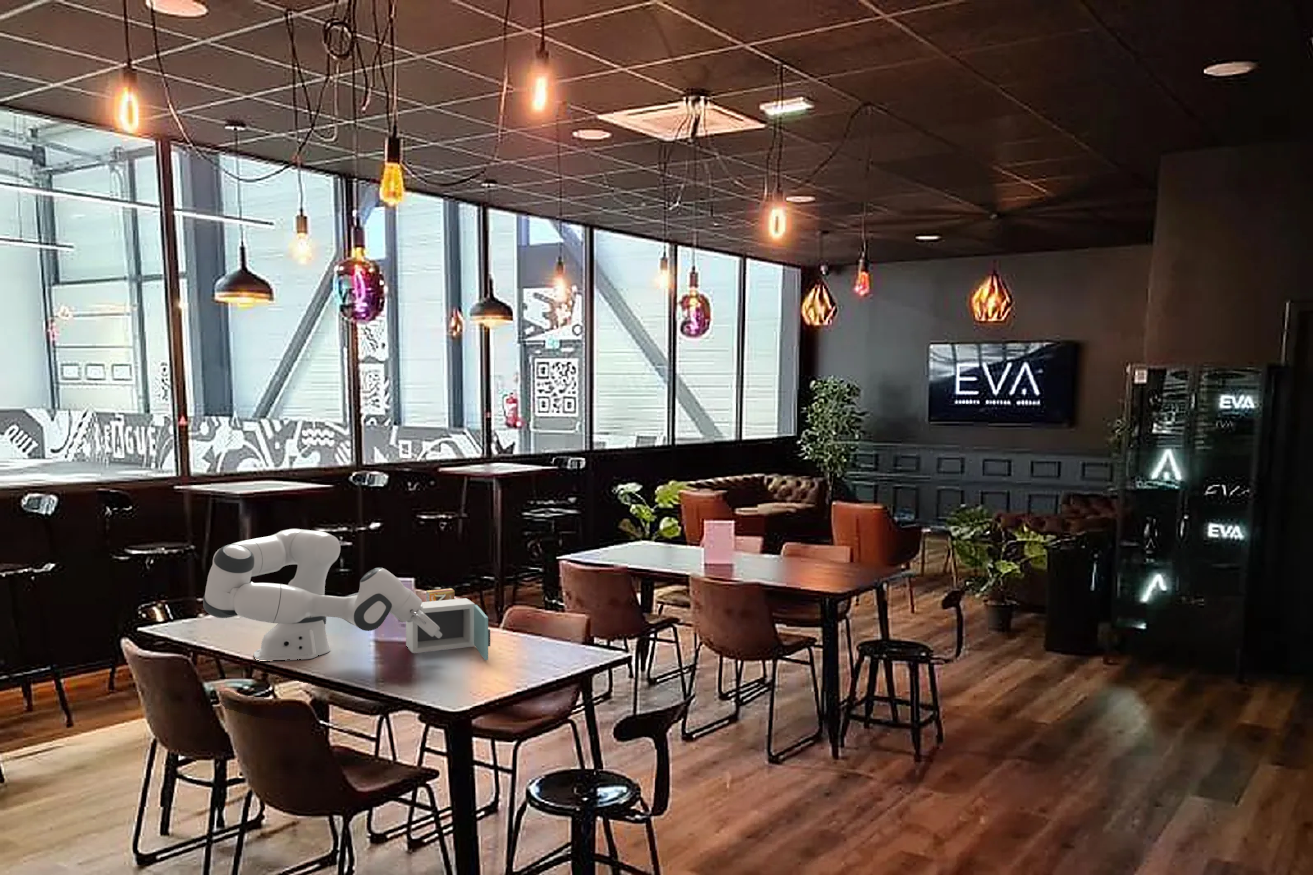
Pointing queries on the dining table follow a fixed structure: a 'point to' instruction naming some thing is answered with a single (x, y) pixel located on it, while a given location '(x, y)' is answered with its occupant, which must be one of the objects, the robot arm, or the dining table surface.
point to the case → (443, 626)
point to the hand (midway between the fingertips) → (439, 635)
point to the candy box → (440, 595)
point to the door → (481, 632)
